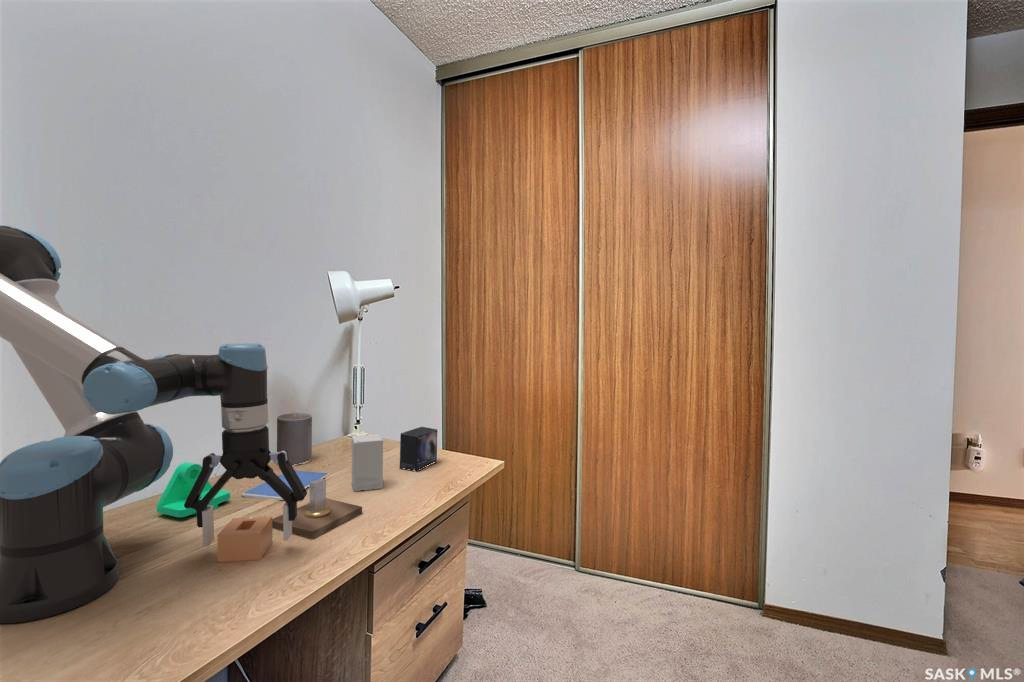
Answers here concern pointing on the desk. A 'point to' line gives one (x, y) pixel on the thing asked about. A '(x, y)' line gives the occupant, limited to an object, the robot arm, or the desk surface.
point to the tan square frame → (244, 539)
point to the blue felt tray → (269, 493)
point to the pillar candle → (295, 436)
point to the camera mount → (185, 492)
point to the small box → (418, 448)
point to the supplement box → (367, 462)
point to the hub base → (319, 513)
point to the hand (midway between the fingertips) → (248, 540)
